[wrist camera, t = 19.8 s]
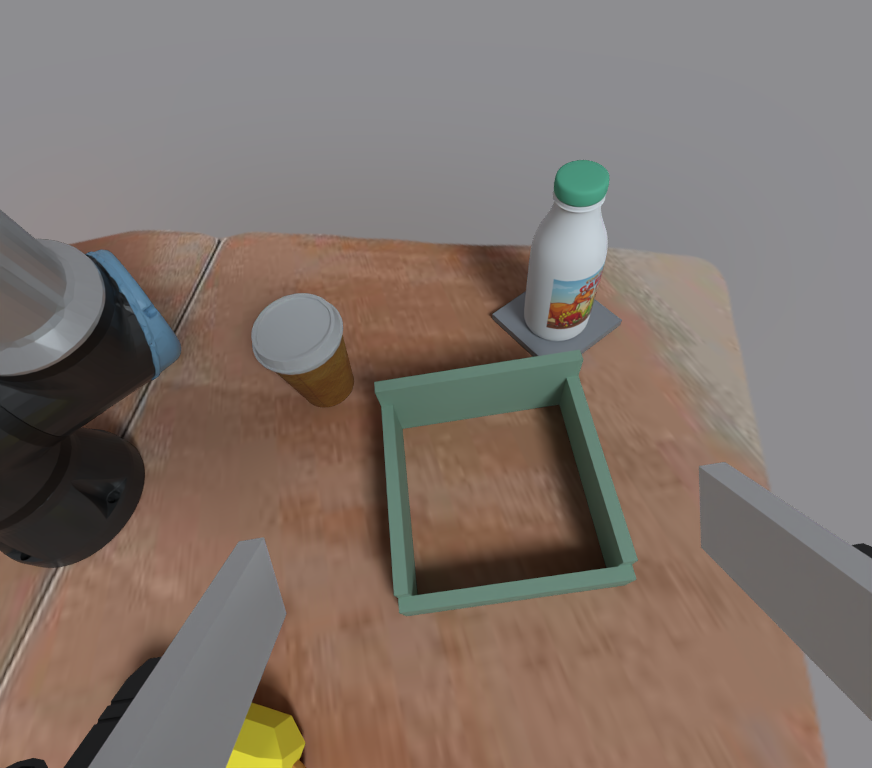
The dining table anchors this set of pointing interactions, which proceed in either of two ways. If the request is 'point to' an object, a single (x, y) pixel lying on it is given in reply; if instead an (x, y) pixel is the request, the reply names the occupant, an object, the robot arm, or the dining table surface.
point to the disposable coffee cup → (305, 347)
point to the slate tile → (516, 327)
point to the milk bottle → (568, 254)
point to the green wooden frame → (491, 395)
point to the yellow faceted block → (267, 741)
